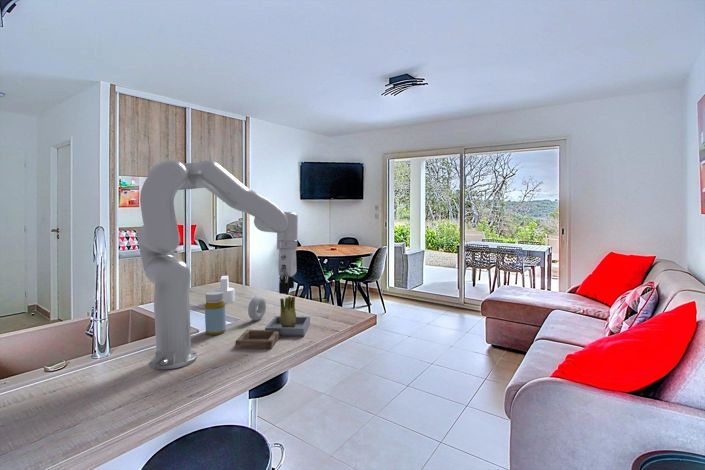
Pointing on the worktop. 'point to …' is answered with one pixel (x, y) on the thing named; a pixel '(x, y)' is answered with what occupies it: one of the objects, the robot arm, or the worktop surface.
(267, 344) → the holder
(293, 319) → the fennel bulb
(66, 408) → the worktop surface
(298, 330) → the tray
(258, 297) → the donut
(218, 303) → the bottle
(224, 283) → the cylinder with rectangular tab
